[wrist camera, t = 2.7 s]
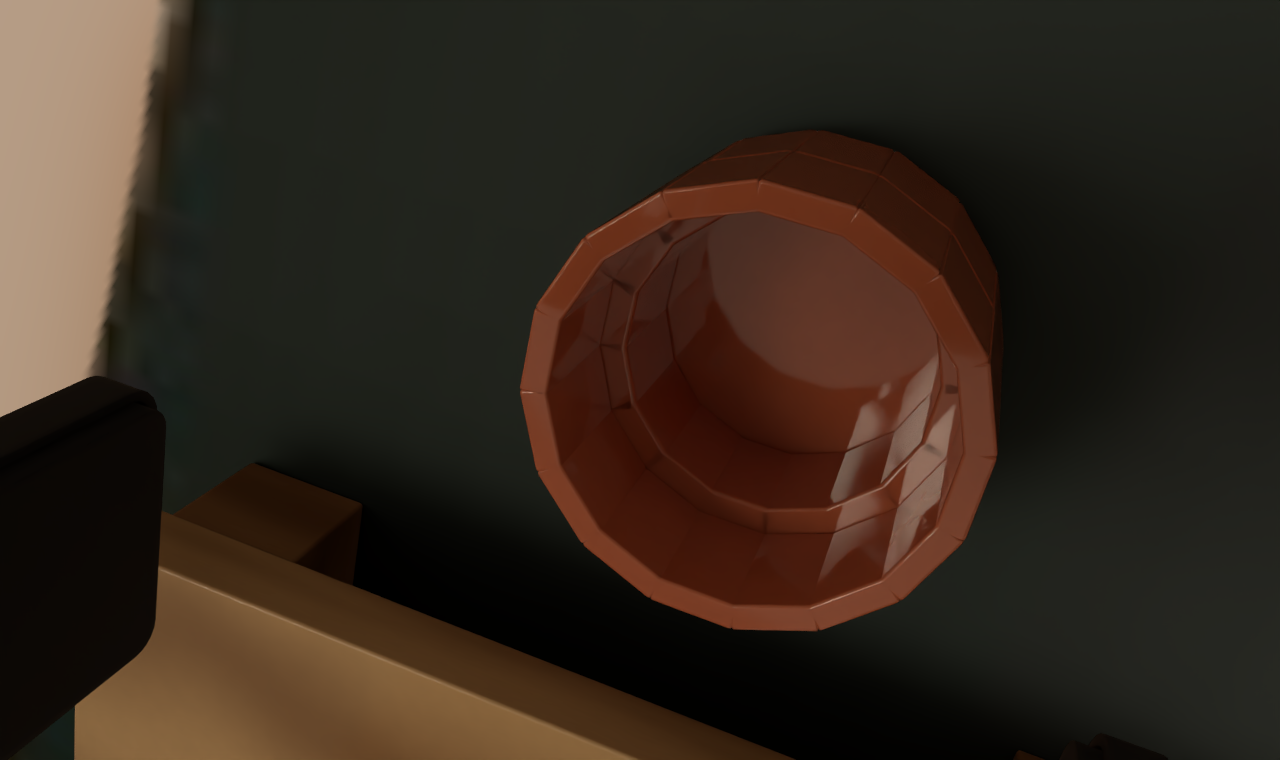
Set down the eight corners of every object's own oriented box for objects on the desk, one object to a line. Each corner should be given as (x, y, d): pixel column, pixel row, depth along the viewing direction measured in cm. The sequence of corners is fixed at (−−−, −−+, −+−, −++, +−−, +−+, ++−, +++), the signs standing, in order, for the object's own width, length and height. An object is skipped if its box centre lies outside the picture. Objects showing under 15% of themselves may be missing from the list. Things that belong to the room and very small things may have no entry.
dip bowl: (677, 83, 21) (567, 124, 16) (1060, 188, 19) (1071, 268, 14) (602, 417, 23) (490, 540, 18) (932, 529, 22) (904, 695, 17)
